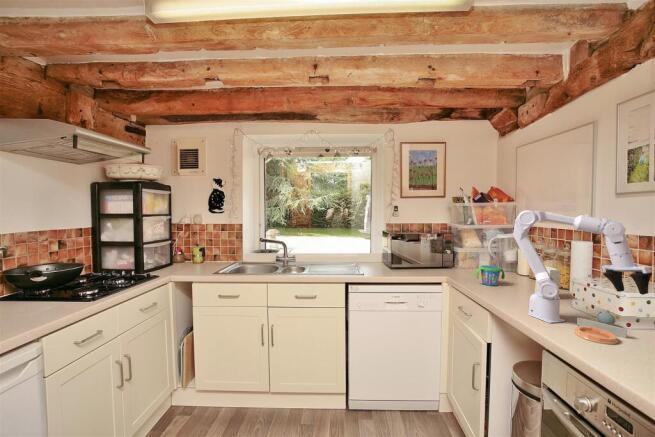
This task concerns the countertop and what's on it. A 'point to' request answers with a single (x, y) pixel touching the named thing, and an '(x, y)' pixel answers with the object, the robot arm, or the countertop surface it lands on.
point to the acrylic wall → (603, 327)
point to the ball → (606, 318)
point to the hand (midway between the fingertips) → (632, 292)
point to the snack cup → (490, 274)
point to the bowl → (596, 335)
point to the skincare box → (553, 273)
